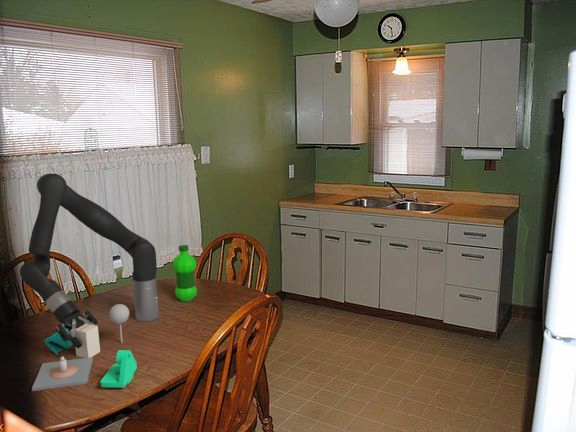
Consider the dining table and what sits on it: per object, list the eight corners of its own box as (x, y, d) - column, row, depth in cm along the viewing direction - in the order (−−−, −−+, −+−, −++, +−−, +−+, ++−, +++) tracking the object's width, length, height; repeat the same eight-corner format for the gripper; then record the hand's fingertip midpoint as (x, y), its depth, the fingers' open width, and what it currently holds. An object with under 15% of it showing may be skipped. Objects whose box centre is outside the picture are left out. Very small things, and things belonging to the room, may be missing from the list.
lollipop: (135, 339, 191) (132, 302, 187) (123, 348, 184) (120, 309, 181) (119, 337, 193) (116, 300, 190) (107, 345, 186) (103, 307, 183)
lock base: (92, 359, 176) (91, 343, 174) (87, 383, 161) (85, 365, 159) (42, 366, 172) (40, 349, 171) (32, 391, 157) (29, 373, 155)
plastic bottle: (186, 293, 237) (183, 242, 231) (202, 298, 231) (200, 245, 225) (170, 300, 229) (166, 247, 223) (186, 305, 223) (183, 250, 217)
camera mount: (114, 370, 169) (112, 342, 167) (137, 370, 169) (134, 342, 166) (100, 390, 157) (97, 360, 155) (124, 390, 157) (121, 360, 155)
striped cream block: (88, 349, 184) (85, 322, 181) (100, 351, 182) (97, 325, 179) (76, 355, 179) (73, 328, 176) (88, 358, 176) (85, 331, 174)
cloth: (59, 326, 204) (59, 321, 204) (93, 326, 204) (93, 320, 204) (27, 358, 179) (26, 352, 179) (66, 357, 179) (65, 351, 179)
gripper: (50, 307, 173) (79, 344, 171) (82, 293, 185) (109, 327, 183) (40, 319, 176) (69, 356, 174) (72, 305, 189) (99, 338, 186)
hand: (89, 341), depth 179 cm, fingers open, 8 cm apart
